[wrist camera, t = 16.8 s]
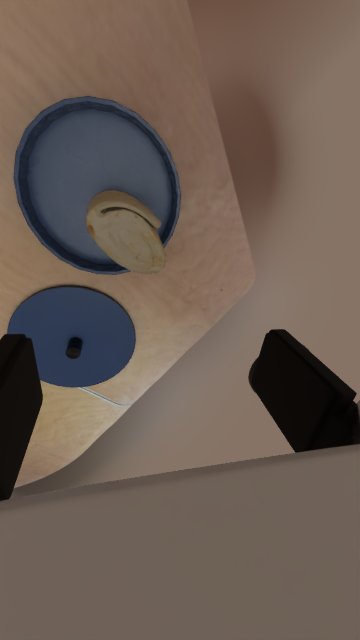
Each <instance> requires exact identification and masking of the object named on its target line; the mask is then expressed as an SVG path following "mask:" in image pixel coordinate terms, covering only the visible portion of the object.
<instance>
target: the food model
mask: <svg viewBox="0 0 360 640" xmlns="http://www.w3.org/2000/svg"><path fill="white" fill-rule="evenodd" d="M85 221H86V227H87V229H88V231H89V233H90V235H91V236H92V238H93V239H94V241H95V242H96V243H97V245H98V246H99V247H100V248H101V249H102V250H103V251H104V252H105V253H106V254H107V255H108V256H109V257H110V258H111V259H113V260H114V261H115V262H116V263H118V264H119V265H120V266H122V267H125V268H127V269H129V270H131V271H133V272H138V273H146V274H152V273H157V272H159V271H160V270H161V269H162V268H163V267H164V265H165V262H166V255H165V251H164V248H163V245H162V243H161V240H160V237H159V235H158V232H157V230H156V229H158V228H159V227H161V222H160V220H159V219H158V218H157V217H156V216H155V215H154V214H153V212H152V211H151V210H150V209H149V208H148V207H146V206H145V205H144V204H142V203H141V202H140V201H138V200H137V199H136V198H134V197H132V196H130V195H128V194H126V193H124V192H120V191H116V190H109V191H103V192H100V193H98V194H97V195H96V196H94V197H93V198H92V200H91V201H90V203H89V205H88V211H87V214H86V216H85Z"/></svg>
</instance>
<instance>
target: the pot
mask: <svg viewBox="0 0 360 640" xmlns="http://www.w3.org/2000/svg"><path fill="white" fill-rule="evenodd" d="M14 183H15V188H16V194H17V200H18V204H19V206H20V208H21V210H22V213H23V215H24V217H25V219H26V222H27V224H28V226H29V227H30V228H31V230H32V231H33V233H34V234H35V235H36V237H37V238H38V239H39V241H40V242H41V243H42V244H43V245H44V246H45V247H46V248H47V249H48V250H50V251H51V252H52V253H53V254H54V255H55V256H57V257H58V258H59V259H60V260H62V261H64V262H66V263H68V264H70V265H72V266H74V267H75V268H77V269H80V270H84V271H88V272H91V273H95V274H112V275H116V274H121V273H125V272H130V271H131V270H129V269H127V268H125V267H122V266H120V265H119V264H118V263H116V262H115V261H114V260H113V259H111V258H110V257H109V256H108V255H107V254H106V253H105V252H104V251H103V250H102V249H101V248H100V247H99V246H98V245H97V243H96V242H95V241H94V239H93V238H92V236H91V235H90V233H89V231H88V229H87V227H86V221H85V216H86V214H87V211H88V205H89V203H90V201H91V200H92V198H93V197H94V196H96V195H97V194H98V193H100V192H103V191H109V190H116V191H120V192H124V193H126V194H128V195H130V196H132V197H134V198H136V199H137V200H138V201H140V202H141V203H142V204H144V205H145V206H146V207H148V208H149V209H150V210H151V211H152V212H153V214H154V215H155V216H156V217H157V218H158V219H159V220H160V222H161V227H159V228H158V229H156V230H157V232H158V235H159V237H160V240H161V243H162V245H163V248H164V247H165V246H166V244H167V243H168V241H169V240H170V238H171V237H172V235H173V232H174V229H175V226H176V224H177V221H178V218H179V210H180V199H181V194H180V186H179V179H178V173H177V170H176V168H175V165H174V162H173V160H172V157H171V154H170V152H169V150H168V149H167V147H166V146H165V144H164V143H163V141H162V140H161V138H160V137H159V135H158V134H157V132H156V131H155V130H154V129H153V128H152V127H151V126H150V125H149V124H148V123H147V122H146V121H145V120H143V119H142V118H141V117H140V116H139V115H138V114H137V113H136V112H134V111H132V110H130V109H128V108H126V107H124V106H122V105H120V104H118V103H116V102H114V101H111V100H106V99H101V98H96V97H90V96H85V97H77V98H70V99H64V100H61V101H59V102H58V103H56V104H54V105H52V106H50V107H48V108H46V109H44V110H43V111H41V112H40V113H39V115H38V116H37V117H36V118H35V119H34V120H33V121H32V122H31V124H30V125H29V126H28V127H27V128H26V130H25V131H24V134H23V136H22V139H21V141H20V144H19V146H18V148H17V151H16V156H15V168H14Z"/></svg>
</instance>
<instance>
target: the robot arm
mask: <svg viewBox="0 0 360 640" xmlns="http://www.w3.org/2000/svg"><path fill="white" fill-rule="evenodd" d="M252 387H253V389H254V390H255V392H256V393H257V395H258V396H259V398H260V399H261V401H262V402H263V404H264V405H265V407H266V409H267V410H268V411H269V413H270V415H271V416H272V418H273V419H274V421H275V422H276V424H277V425H278V427H279V428H280V430H281V432H282V433H283V435H284V436H285V438H286V439H287V441H288V442H289V444H290V445H291V447H292V448H293V450H294V451H295V453H292V454H285V455H278V456H271V457H265V458H258V459H251V460H245V461H238V462H231V463H225V464H218V465H212V466H206V467H200V468H192V469H186V470H179V471H173V472H167V473H161V474H154V475H148V476H141V477H135V478H130V479H123V480H116V481H110V482H104V483H98V484H92V485H85V486H79V487H74V488H68V489H62V490H57V491H51V492H45V493H39V494H34V495H28V496H22V497H17V498H12V499H9V498H10V497H11V494H12V491H13V488H14V486H15V483H16V480H17V477H18V474H19V471H20V468H21V465H22V462H23V459H24V456H25V453H26V450H27V447H28V444H29V441H30V438H31V435H32V432H33V429H34V426H35V423H36V420H37V417H38V414H39V411H40V408H41V405H42V400H43V394H42V389H41V384H40V378H39V373H38V368H37V363H36V358H35V352H34V347H33V342H32V339H31V338H26V336H25V334H5V335H4V336H3V337H2V338H1V340H0V640H360V401H359V402H358V403H357V404H356V403H355V402H354V401H353V400H354V398H355V396H356V394H357V393H356V392H355V391H353V390H352V389H351V388H350V387H349V386H348V385H347V384H346V383H344V382H343V381H342V380H341V379H340V378H339V377H338V376H337V375H336V374H334V373H333V372H332V371H331V370H330V369H329V368H328V367H327V366H325V365H324V364H323V363H322V362H321V361H320V360H319V359H318V358H316V357H315V356H314V355H313V354H312V353H311V352H310V351H309V350H307V349H306V348H305V347H304V346H303V345H302V344H301V343H300V342H298V341H297V340H296V339H295V338H294V337H293V336H292V335H291V334H289V333H288V332H287V331H286V330H283V329H277V330H270V331H269V333H267V334H266V336H265V338H264V342H263V345H262V348H261V351H260V355H259V358H258V361H257V364H256V367H255V371H254V374H253V377H252Z"/></svg>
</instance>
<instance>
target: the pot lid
mask: <svg viewBox="0 0 360 640" xmlns="http://www.w3.org/2000/svg"><path fill="white" fill-rule="evenodd" d="M7 334H25V336H26V338H31V339H32V342H33V347H34V352H35V358H36V363H37V368H38V373H39V378H40V380H42V381H44V382H47V383H50V384H53V385H57V386H63V387H86V386H91V385H96V384H99V383H102V382H104V381H106V380H108V379H110V378H112V377H114V376H115V375H116V374H118V373H119V372H120V371H121V370H122V369H123V368H124V367H125V366H126V365H127V364H128V362H129V360H130V359H131V357H132V354H133V352H134V348H135V341H136V339H135V330H134V326H133V324H132V321H131V319H130V317H129V316H128V314H127V313H126V311H125V310H124V309H123V308H122V307H121V306H120V305H119V304H118V303H117V302H115V301H114V300H113V299H111V298H110V297H108V296H106V295H105V294H102V293H100V292H98V291H95V290H92V289H89V288H83V287H76V286H60V287H54V288H50V289H46V290H43V291H40V292H38V293H36V294H34V295H32V296H31V297H29V298H27V299H26V300H25V301H24V302H23V303H21V305H20V306H19V307H18V308H17V309H16V310H15V312H14V314H13V315H12V317H11V319H10V322H9V325H8V330H7Z"/></svg>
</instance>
